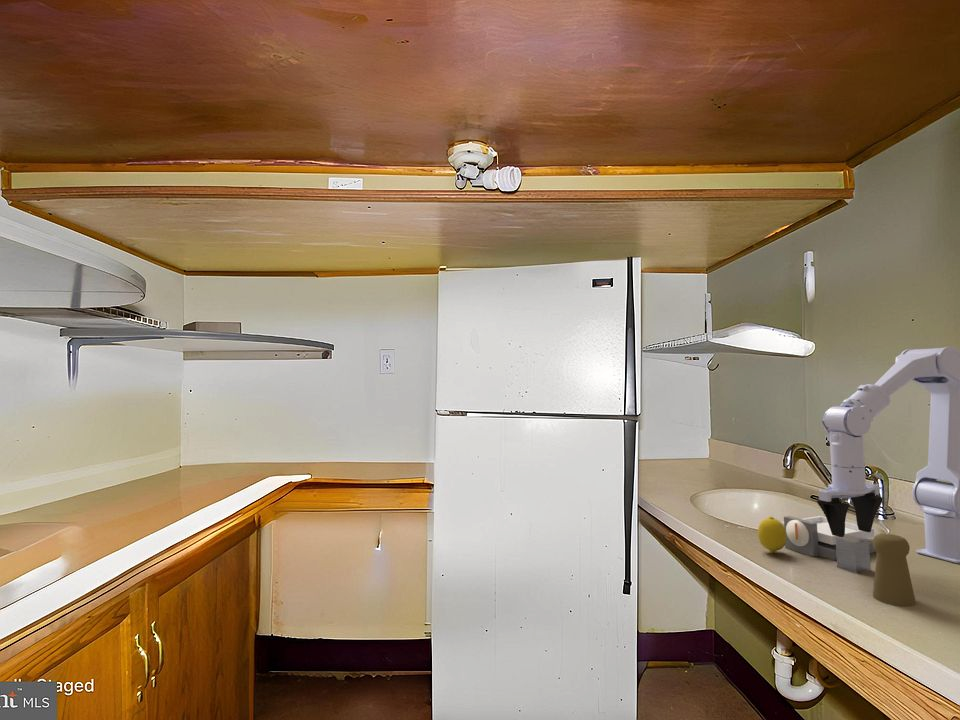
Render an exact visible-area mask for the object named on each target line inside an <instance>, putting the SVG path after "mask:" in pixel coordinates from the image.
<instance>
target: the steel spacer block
mask: <svg viewBox="0 0 960 720" xmlns="http://www.w3.org/2000/svg"><path fill="white" fill-rule="evenodd" d="M866 539H867V538H866ZM866 539H862V538H859V537H855V536H851V535H847V536H844V537H836V555H837V560H836V567H837V568H839V569H842V570H844V571H847V572H850V573H853V574H861V573H865V572H869V571H871V568H872V567H871V557H870V556H871V555H870V554H871V553H870V551H869V540H866Z"/></svg>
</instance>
